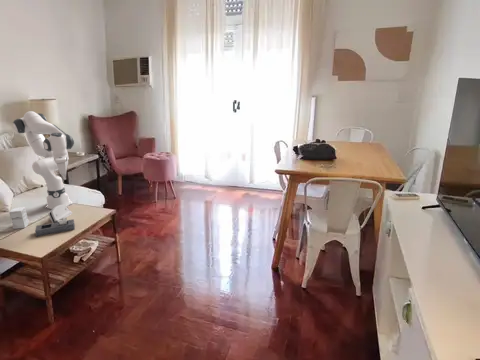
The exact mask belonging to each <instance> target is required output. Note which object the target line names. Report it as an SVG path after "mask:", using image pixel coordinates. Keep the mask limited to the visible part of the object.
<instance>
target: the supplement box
mask: <svg viewBox="0 0 480 360" xmlns="http://www.w3.org/2000/svg"><path fill="white" fill-rule="evenodd" d="M9 217H10V220H11V224H12V229H13V230H16V229H25V228H26V227H28V225H29V224H30V222H29V217H28V214H27V209H26V206H23V207H22V206H21V207H13V208H12V209H11V210H9Z"/></svg>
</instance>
